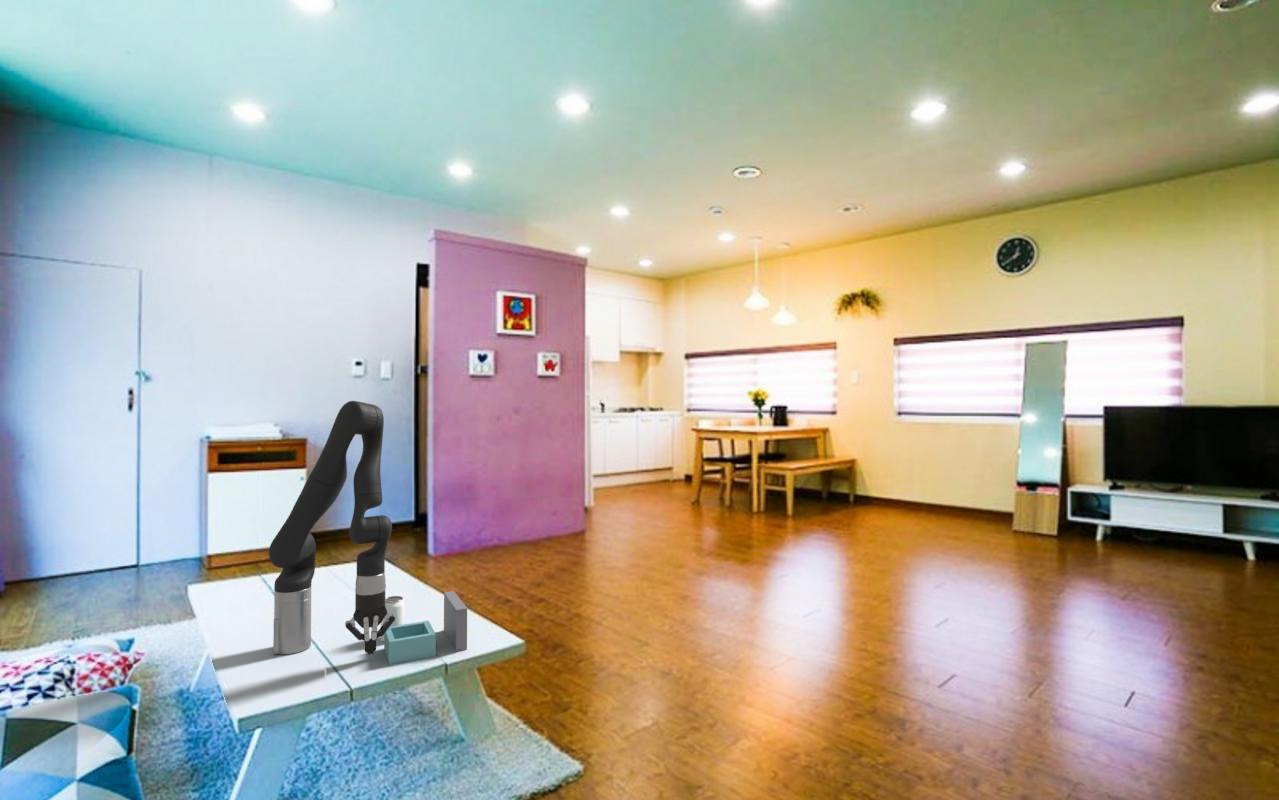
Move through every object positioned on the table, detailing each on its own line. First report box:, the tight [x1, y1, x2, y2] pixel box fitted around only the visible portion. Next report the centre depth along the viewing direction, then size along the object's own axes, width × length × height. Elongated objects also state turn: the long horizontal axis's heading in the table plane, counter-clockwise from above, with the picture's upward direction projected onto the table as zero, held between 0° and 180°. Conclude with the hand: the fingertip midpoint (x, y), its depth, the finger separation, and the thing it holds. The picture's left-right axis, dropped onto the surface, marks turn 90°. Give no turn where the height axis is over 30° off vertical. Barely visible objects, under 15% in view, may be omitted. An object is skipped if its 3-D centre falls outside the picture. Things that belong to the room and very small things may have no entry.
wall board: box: [443, 590, 468, 652], centre depth 181 cm, size 3×18×12 cm, turn 29°
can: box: [380, 595, 405, 643], centre depth 181 cm, size 6×6×12 cm
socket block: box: [383, 620, 437, 665], centre depth 171 cm, size 12×12×6 cm
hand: (370, 653), depth 166 cm, fingers closed
